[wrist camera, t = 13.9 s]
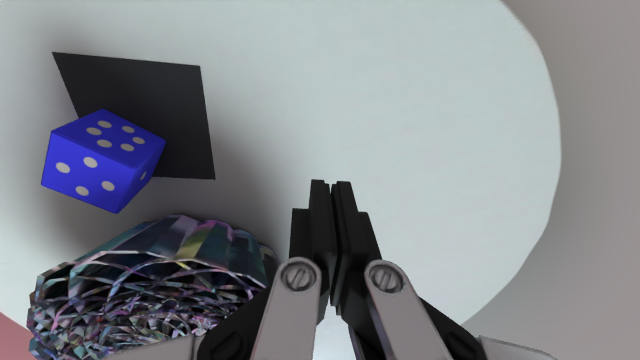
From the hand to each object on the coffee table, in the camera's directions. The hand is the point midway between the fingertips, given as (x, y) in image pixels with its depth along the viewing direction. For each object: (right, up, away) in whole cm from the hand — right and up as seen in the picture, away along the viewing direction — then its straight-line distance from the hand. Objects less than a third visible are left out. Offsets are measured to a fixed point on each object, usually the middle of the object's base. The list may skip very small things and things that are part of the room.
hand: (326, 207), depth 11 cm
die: (-17, +4, +11) cm, 20 cm away
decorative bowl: (-15, -11, +20) cm, 28 cm away
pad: (-15, +6, +10) cm, 19 cm away
